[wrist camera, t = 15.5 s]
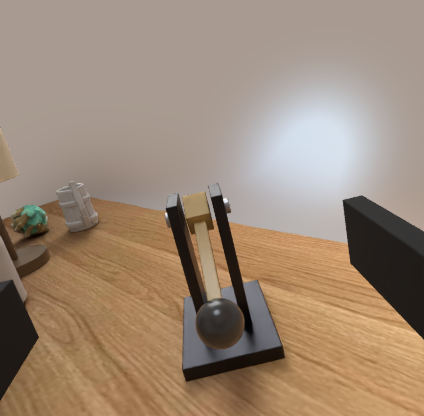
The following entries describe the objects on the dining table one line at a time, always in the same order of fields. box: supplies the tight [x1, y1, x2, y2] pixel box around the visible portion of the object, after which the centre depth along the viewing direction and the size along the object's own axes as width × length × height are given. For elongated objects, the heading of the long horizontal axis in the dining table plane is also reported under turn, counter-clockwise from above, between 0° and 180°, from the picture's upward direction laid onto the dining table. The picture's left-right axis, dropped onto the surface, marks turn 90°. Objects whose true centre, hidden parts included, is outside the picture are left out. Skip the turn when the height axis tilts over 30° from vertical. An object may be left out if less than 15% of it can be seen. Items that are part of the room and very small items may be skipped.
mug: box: [57, 181, 98, 232], centre depth 84 cm, size 8×12×12 cm, turn 31°
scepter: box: [10, 205, 48, 238], centre depth 98 cm, size 9×8×30 cm
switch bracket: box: [165, 183, 285, 381], centre depth 36 cm, size 12×9×15 cm
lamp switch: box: [182, 191, 245, 350], centre depth 30 cm, size 14×4×4 cm, turn 4°
